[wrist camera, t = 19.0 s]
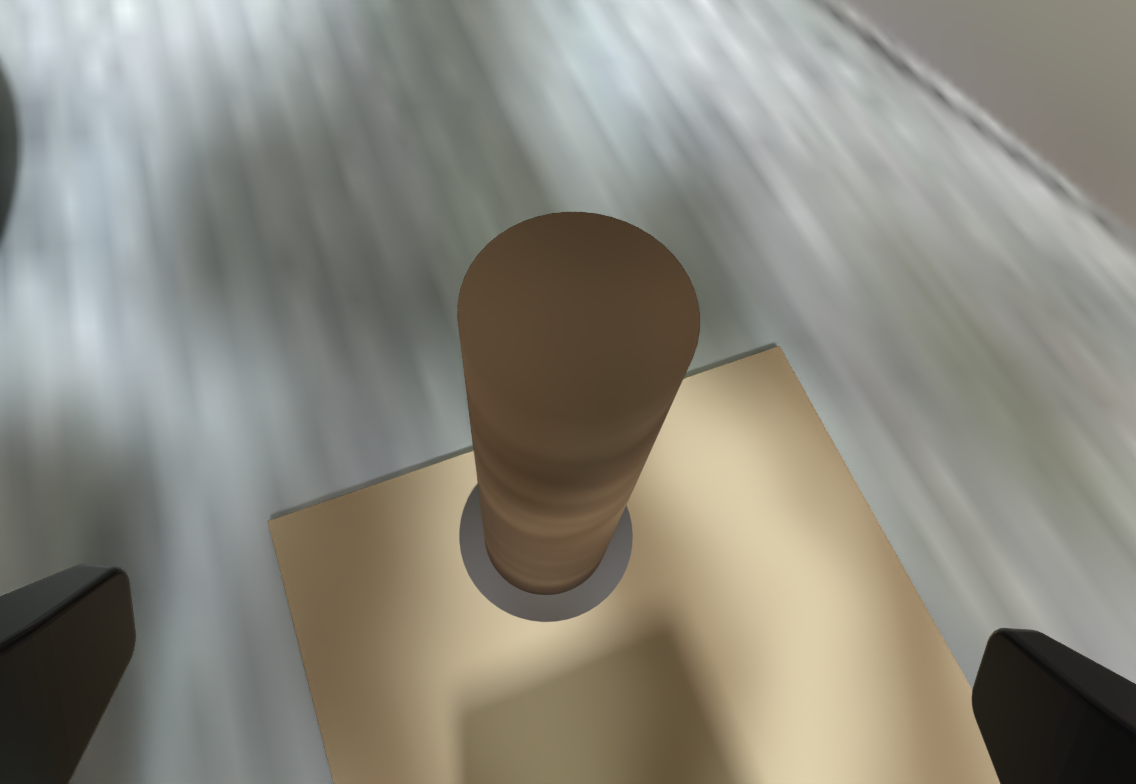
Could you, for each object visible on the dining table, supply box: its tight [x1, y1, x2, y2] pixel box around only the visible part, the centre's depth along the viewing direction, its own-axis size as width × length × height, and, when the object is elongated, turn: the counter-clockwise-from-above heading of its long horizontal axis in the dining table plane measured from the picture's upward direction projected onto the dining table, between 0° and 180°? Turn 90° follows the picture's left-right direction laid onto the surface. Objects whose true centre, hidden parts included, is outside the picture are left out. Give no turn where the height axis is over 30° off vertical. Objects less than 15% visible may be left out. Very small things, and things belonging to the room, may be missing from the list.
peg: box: [457, 212, 700, 595], centre depth 17 cm, size 3×3×12 cm
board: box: [268, 346, 1000, 784], centre depth 20 cm, size 16×18×1 cm
